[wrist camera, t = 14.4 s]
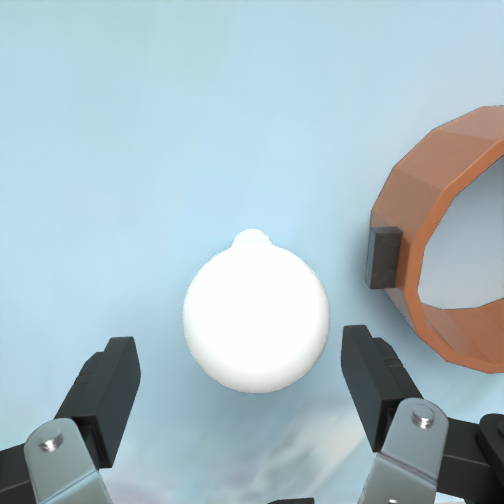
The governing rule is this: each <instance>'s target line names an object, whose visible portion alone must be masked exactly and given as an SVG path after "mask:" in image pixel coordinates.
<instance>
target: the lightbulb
mask: <svg viewBox="0 0 504 504" xmlns="http://www.w3.org/2000/svg"><path fill="white" fill-rule="evenodd" d="M182 321H183V330H184V336H185V339H186V342H187V345H188V347H189V350H190V352H191V355H192V356H193V358H194V359H195V361H196V362H197V364H198V365H199V366H200V367H201V368H202V369H203V370H204V371H205V372H206V373H207V374H208V375H209V376H210V377H211V378H212V379H214V380H215V381H217V382H218V383H220V384H222V385H224V386H226V387H228V388H231V389H233V390H236V391H240V392H244V393H254V394H257V393H268V392H273V391H277V390H280V389H282V388H285V387H287V386H289V385H291V384H292V383H294V382H296V381H297V380H299V379H300V378H301V377H302V376H304V375H305V374H306V373H307V372H308V371H309V370H310V369H311V368H312V366H313V365H314V364H315V363H316V361H317V360H318V359H319V357H320V355H321V353H322V351H323V350H324V347H325V344H326V341H327V337H328V333H329V325H330V310H329V304H328V298H327V296H326V293H325V291H324V288H323V286H322V284H321V282H320V279H319V278H318V277H317V275H316V274H315V273H314V271H313V270H312V269H311V268H310V267H309V266H308V265H307V264H306V263H305V262H303V261H302V260H301V259H300V258H299V257H298V256H296V255H295V254H293V253H291V252H289V251H288V250H286V249H283V248H280V247H277V246H274V245H273V243H272V242H271V240H270V238H269V237H268V235H267V234H265V233H264V232H262V231H260V230H257V229H247V230H244V231H242V232H240V233H239V234H238V235H237V236H236V237H235V238H234V240H233V242H232V245H231V247H230V248H229V249H227V250H225V251H223V252H220V253H219V254H217V255H216V256H215V257H213V258H212V259H210V260H209V261H208V262H207V263H206V264H205V265H204V266H203V267H202V268H201V269H200V271H199V272H198V273H197V274H196V275H195V277H194V279H193V280H192V282H191V284H190V285H189V288H188V291H187V294H186V297H185V300H184V304H183V314H182Z"/></svg>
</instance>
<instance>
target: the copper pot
mask: <svg viewBox="0 0 504 504" xmlns="http://www.w3.org/2000/svg"><path fill="white" fill-rule="evenodd" d="M503 155H504V105H501V106H483V107H481V108H478V109H476V110H474V111H472V112H470V113H468V114H465V115H463V116H461V117H459V118H457V119H455V120H452V121H450V122H448V123H446V124H444V125H442V126H439V127H437V128H435V129H433V130H432V131H431V132H430V133H429V134H428V135H427V136H426V137H424V138H423V139H422V140H421V141H420V142H419V143H418V144H417V145H416V146H415V147H414V148H413V149H412V150H411V151H410V152H409V153H408V154H407V155H406V156H405V157H404V158H402V159H401V160H400V161H399V162H398V163H397V164H396V165H395V166H394V167H393V169H392V171H391V173H390V175H389V177H388V179H387V181H386V183H385V185H384V187H383V189H382V191H381V193H380V195H379V197H378V199H377V201H376V202H375V204H374V206H373V208H372V214H371V224H370V235H369V246H368V256H367V267H366V278H365V282H366V284H367V285H368V287H369V288H370V289H384V290H385V292H386V293H387V295H388V296H389V297H390V299H391V300H392V301H393V303H394V304H395V306H396V307H397V308H398V310H399V311H400V312H401V314H402V315H403V317H404V318H405V319H406V321H407V322H408V323H409V325H410V326H411V328H412V329H413V330H414V332H415V333H416V334H417V336H419V337H420V338H421V339H422V340H423V341H424V342H425V343H426V344H428V345H429V346H430V347H431V348H432V349H433V350H434V351H435V352H437V353H438V354H439V355H440V356H441V357H442V358H443V359H444V360H446V361H447V362H450V363H454V364H457V365H461V366H464V367H468V368H471V369H474V370H478V371H481V372H485V373H489V374H492V373H504V298H502V299H500V300H497V301H494V302H492V303H489V304H486V305H484V306H481V307H478V308H466V309H448V310H442V309H439V308H436V307H432V306H429V305H426V304H423V303H421V302H420V299H419V295H418V292H417V291H418V285H419V278H420V272H421V266H422V260H423V254H424V248H425V245H426V244H427V242H428V240H429V239H430V237H431V235H432V234H433V232H434V230H435V229H436V227H437V225H438V224H439V222H440V221H441V219H442V217H443V216H444V214H445V212H446V211H447V209H448V207H449V206H450V204H451V202H452V201H453V199H454V197H455V196H457V195H458V194H459V193H460V192H461V191H462V190H463V189H465V188H466V187H467V186H468V185H469V184H470V183H471V182H473V181H474V180H475V179H476V178H477V177H478V176H480V175H481V174H482V173H483V172H484V171H485V170H486V169H488V168H489V167H490V166H491V165H492V164H493V163H495V162H496V161H497V160H498V159H499V158H500V157H501V156H503Z"/></svg>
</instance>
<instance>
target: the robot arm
mask: <svg viewBox="0 0 504 504" xmlns="http://www.w3.org/2000/svg"><path fill="white" fill-rule="evenodd" d="M341 367H342V372H343V375H344V378H345V380H346V383H347V386H348V388H349V391H350V394H351V396H352V399H353V401H354V404H355V407H356V409H357V412H358V414H359V417H360V420H361V422H362V425H363V427H364V430H365V433H366V435H367V438H368V440H369V443H370V446H371V448H372V451H373V453H375V452H378V453H377V455H376V457H375V460H374V463H373V465H372V468H371V470H370V473H369V475H368V478H367V480H366V483H365V486H364V488H363V491H362V493H361V496H360V498H359V501H358V503H357V504H434V501H435V496H436V492H440V493H444V494H447V495H451V496H455V497H459V498H463V499H464V501H465V502H466V504H504V415H502V414H495V413H493V414H487V415H485V416H483V417H482V418H481V420H480V423H479V424H475V423H470V422H465V421H461V420H456V419H452V418H449V417H447V416H446V414H445V413H444V412H443V411H442V410H441V409H440V408H439V407H438V406H437V405H435V404H434V403H432V402H430V401H428V400H425V399H424V398H423V397H422V395H421V394H420V392H419V390H418V389H417V387H416V385H415V384H414V382H413V381H412V379H411V377H410V376H409V374H408V372H407V371H406V369H405V368H404V367H403V364H402V363H401V361H400V360H399V359H398V356H397V355H396V353H395V351H394V350H393V348H392V347H391V346H390V345H389V344H388V343H387V342H385V341H384V340H383V339H382V338H372V336H371V334H370V332H369V330H368V329H367V327H366V326H365V325H351V326H344V329H343V339H342V350H341ZM140 377H141V370H140V364H139V360H138V355H137V350H136V345H135V341H134V338H133V337H113V338H111V339H110V340H109V342H108V344H107V346H106V348H105V350H104V352H96V353H95V354H94V355H93V356H92V357H91V358H90V359H88V360H87V361H86V362H85V364H84V366H83V367H82V369H81V371H80V373H79V376H77V378H76V380H75V382H74V385H72V387H71V389H70V391H69V392H68V394H67V396H66V398H65V400H64V401H63V403H62V405H61V407H60V409H59V410H58V412H57V414H56V416H55V417H54V419H53V420H51V421H49V422H47V423H45V424H43V425H41V426H40V427H39V428H37V429H36V430H35V431H34V432H33V433H32V434H31V435H30V436H29V437H28V439H27V441H26V442H25V443H23V444H21V445H18V446H15V447H12V448H8V449H5V450H2V451H0V504H113V503H112V501H111V499H110V496H109V494H108V492H107V489H106V487H105V485H104V483H103V480H102V478H101V476H100V474H99V469H102V468H112V466H113V463H114V460H115V457H116V454H117V451H118V448H119V445H120V442H121V439H122V436H123V433H124V430H125V427H126V424H127V421H128V418H129V415H130V412H131V409H132V406H133V403H134V400H135V396H136V393H137V390H138V387H139V384H140ZM268 504H314V499H313V498H300V499H285V500H276V501H274V502H271V503H268Z"/></svg>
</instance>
